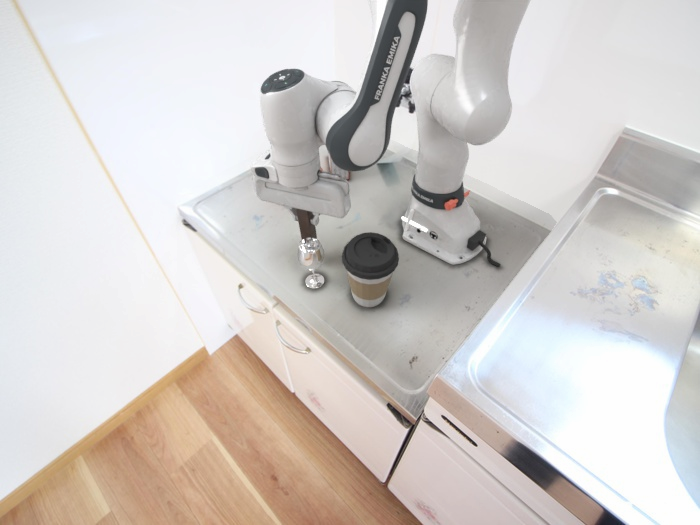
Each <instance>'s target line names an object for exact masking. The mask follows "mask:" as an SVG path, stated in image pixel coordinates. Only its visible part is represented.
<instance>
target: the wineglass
mask: <svg viewBox="0 0 700 525" xmlns="http://www.w3.org/2000/svg"><path fill="white" fill-rule="evenodd" d="M325 257H326V255H325V249H324V247H323V244H322V243H321V240H319V239H318V238H317V239H316V238H313V237H308V238H305V239H303V240H302V239H301V241H299V243H298V247H297V261H298V263H299V265H300V266H301V267H302V268H303V269H305V270H308V271H311V272H312V273H311V274H309V275H308V276H307V277H306V278H305V281H304V282H305V285H306V286H307V287H308V288H310V289H314V290H315V289H319V288H321V287H322V286H323V285H324V283H325V277H324V276H323V275H322V274H321V273H316V270H318V269H319V268H321V267H322V266H323V265H324V263H325V259H326V258H325Z"/></svg>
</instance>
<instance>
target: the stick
mask: <svg viewBox="0 0 700 525" xmlns="http://www.w3.org/2000/svg"><path fill="white" fill-rule="evenodd" d="M296 212H297V217H298V221H297V222H298V223H297V224H298V228H299V232H300V238H301V241H302V240H303V239H305V238H308V237H313V238H316V239H318V236H317V228H316V227H317V226H315V225H311V224H310V220H309V219H310V218H311V216H312V215H313V212H310V211H306V210H302V209H297V208H296Z"/></svg>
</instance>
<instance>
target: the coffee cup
mask: <svg viewBox="0 0 700 525" xmlns="http://www.w3.org/2000/svg"><path fill="white" fill-rule="evenodd" d="M399 260H400V254H399V251H398V248H397V247H396V245H395V244H394V243H393V242H392V240H391V238H388V237H387V236H385V235H384V234H381V233H379V232H362V233H359V234H357V235H355V236H353V237H352V238H351V239H350V240H349V241H348V242H347V243H346V244H345V246H344V247H343V250H342V255H341V262H342V265H343V267H344V268H345V270H346V273H347V278H348V282H349V287H350V291H351V296H352V297H353V300H354V301H355V303H356V304H357V305H359V306H361V307H363V308H374V307H377V306H378V305H380V304H381V303H382V302H383V301H384V299H385V297H386V295H387V291H388V289H389V286H390V282H391V279H392V276H393V273H394V272H395V270H396V269H397V267H398V266H399Z"/></svg>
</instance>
